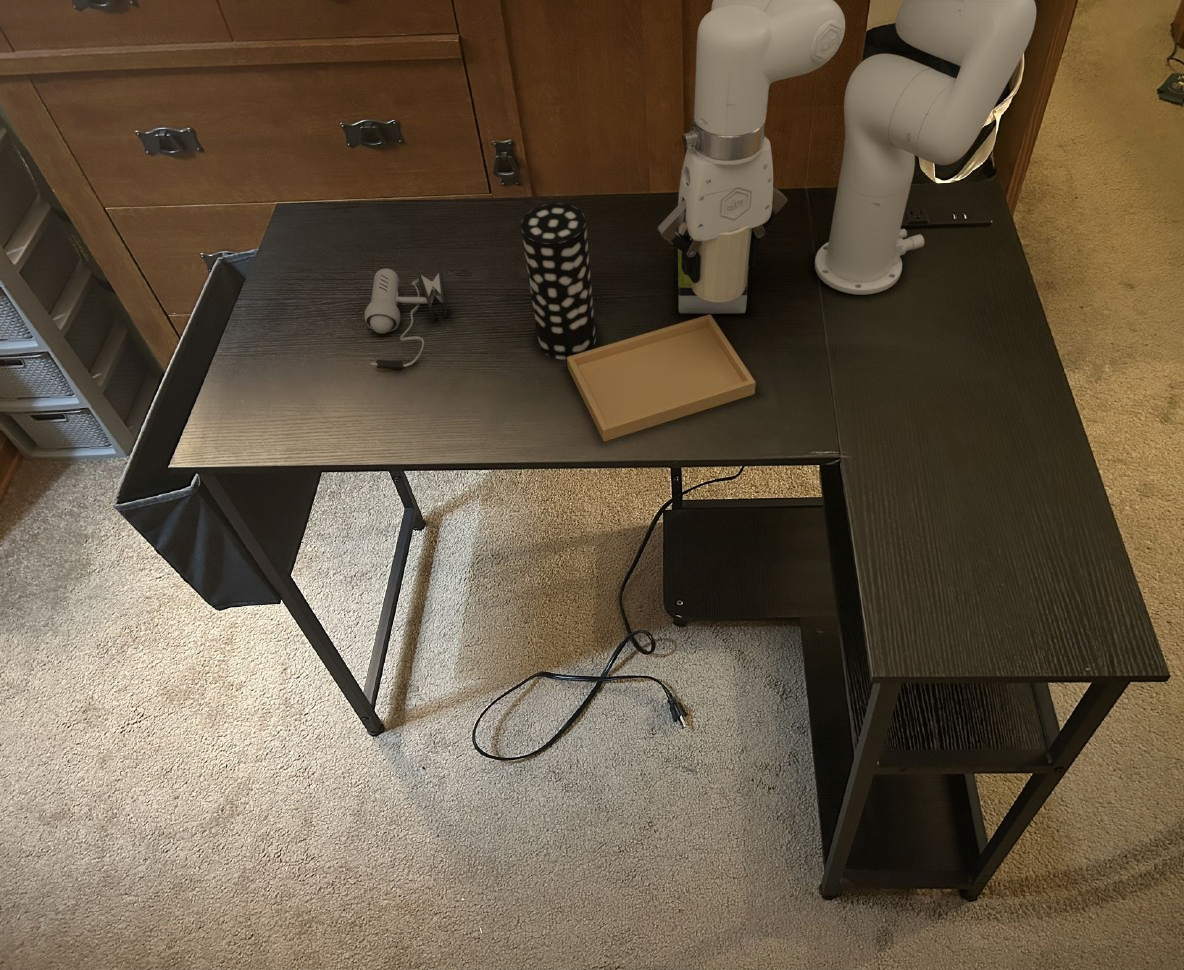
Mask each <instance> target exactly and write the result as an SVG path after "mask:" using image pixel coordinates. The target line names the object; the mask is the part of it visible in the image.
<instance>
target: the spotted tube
mask: <svg viewBox="0 0 1184 970" xmlns="http://www.w3.org/2000/svg"><path fill="white" fill-rule="evenodd" d="M587 228H588V227H587V219H586V216H585V214H584V212H583V211H582V210H581V209H579V208H578V207H576V206H574V205H572V204H567V203H559V202H556V203H555V202H553V203H546V204H543V205H539V206H537V207H534V208H532V209H531V210H530V211H528V212H527V213H526V214H525V215H524V217H523V218H522V219H521V222H520V231H521V237H522V243H523V250H524V251H523V252H524V257H525V264H526V270H527V278H528V283H529V291H530V296H531V304H532V310H533V316H534V323H535V329H536V336H537V341H538V342H537V343H538V346H539V349H540V350H541V351H542V352H543V354H545V355H546V356H548V357H550V358H552V359H558V360H567V357H569V356H572V355H576V354H579V353H582V352H586V351H589V350H592V349H593V348H594V346H595V343H596V340H597V335H596V334H597V332H596V321H595V310H594V299H593V298H594V297H593V288H592V273H591V264H590V263H591V262H590V251H589V240H588V238H589V237H588V229H587Z"/></svg>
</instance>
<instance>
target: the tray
mask: <svg viewBox="0 0 1184 970" xmlns="http://www.w3.org/2000/svg"><path fill="white" fill-rule="evenodd" d="M566 363H567V370H568V372H569V374H570V376H571V378H572V380H573V382H574V384H575V386H576V387H577V391H578V392H579V394H580V396H581V398H582V400H583V402H584V405H585V406H586V408H587V410H588V412H589V415H590V416H591V418H592V420H593V423H594V425H595V427H596V429H597V431H598V433H599V435H600V437H601V439H602V441H603V442H608V441H611V440H614V439H618V438H619V437H620V438H621V437H624V436H626V435H630V434H633V433H636V432H640V431H643V430H645V429H649V428H652V427H655V426H659V425H661V424H665V423H668V422H671V421H674V420H677V419H681V418H683V417H687V416H690V415H693V414H696V413H700V412H702V411H703V412H704V411H706V410H709V409H712V408H715V407H718V406H722V405H725V404H728V403H731V402H734V401H738V400H740V399H744V398H747V397H750V396H753V395H755V393H756V384H757V382H756V380H755V379H754V378H753V376H752V375H751V373H750V371H749V370H748V368H747V367H746V366H745V364H744V362H743V361H742V359H741V358H740V356H739V355H738V353H737V352H736V350H735V349H734V347H733V345H732V344H731V342H730V341H729V340H728V338H727V337H726V335H725V334H724V332H723V331H722V329H721V328H720V326H719V325H718V323H717V322H716V321H715V319H714V317H713V316H712V314H710V313H708V314H706V315H702V316H700V317H697V318H696V317H695V318H692V319H689V320H686V321H683V322H680V323H677V324H673V325H669V326H666V327H663V328H659V329H656V330H653V331H650V332H646V333H643V334H639V335H636V336H633V337H629V338H626V339H623V340H619V341H616V342H613V343H609V344H606V345H603V346H602V345H601V346H599V347H596V348H591V350H589V351H586V352H582V353H579V354H576V355H572V356H569V357H567V359H566Z"/></svg>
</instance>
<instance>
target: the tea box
mask: <svg viewBox="0 0 1184 970" xmlns="http://www.w3.org/2000/svg"><path fill="white" fill-rule="evenodd" d="M681 174H682V169H680V175H681ZM685 225H686V223H682V224H681V225H680V226H679V227H678V228H677V230H678V231H677V232H678V233H680V234H681V233H682V231H683V229H684V227H685ZM691 239H692V237H691ZM691 239H690V240H691ZM681 260H682V251H681V250H679V249H677V273H678V274H677V293H678V294H677V296H678V297H677V298H678V313H680V314H693V315H694V314H697V315H698V314H700V315H701V314H703V315H704V314H711V315H712V314H713V315H714V314H715V315H716V314H721V315H722V314H746V311H747V301H748V286H749V274H750V266H748V272H747V282H746V287H745V290H744V292H743V293H742V294H741V295H740V296H739V297H738V298H736V299H734V300H732V301H728V302H721V303H718V302H710V301H706V300H704V299H702V298H700V297H698V296H697V295H696V294H695V293H694V291H693V290H692V286H691V279H690V278H689V276H688V275H685V274H684V273H683V271H682V267H681Z"/></svg>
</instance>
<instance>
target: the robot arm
mask: <svg viewBox="0 0 1184 970" xmlns="http://www.w3.org/2000/svg"><path fill="white" fill-rule="evenodd" d="M1036 5H1037V4H1036V1H1035V0H902V1H901V3H900V5H899V7H898V10H897V13H896V17H895V30H896V33H897V35H898V36H899V38H900V39H901V40H902V41H904V42H905V43H906V44H908V45H910V46H911V47H913V48H915V49H918V50H920V51H922V52H924V53H926V54H929V55H932V56H934V57H937V58H939V59H942V60H944V61H947V62H949V63H950V64H954V65H956V66H959V71H958V74H957V76H956V77H953V76H950V75H949V74H946V73H943V72H940V71H938V70H936V69H935V68H932V67H930V66H927V65H925V64H923V63H920V62H918V61H915V60H912V59H910V58H907V57H905V56H901V55H898V54H893V53H878V54H873V55H871V56H869V57H866V58H865V59H864V60H863V61H861V62H860V63H859V64H858V65H857V66H856V67H855V69H854V70H853V71H852V73H851V75H850V77H849V78H848V80H847V81H848V82H847V84H846V88H845V92H844V97H843V119H844V144H843V145H844V146H843V154H842V160H841V167H840V173H839V179H838V183H837V184H838V185H837V189H836V196H835V203H834V208H833V214H832V221H831V226H830V233H829V239H828V241H827V242H826V243H824V244H823V245H822V246H821V247H820V248H819V249H818V250H817V252H816V254H815V257H814V271H815V272H816V275H817V276H818V277H819V280H821V281H822V282H823V283H824V284H826V285H827V286H829V287H830V288H832V289H834V290H837V291H839V292H842V293H845V294H851V295H861V296H863V295H864V296H865V295H873V294H877V293H880V292H883V291H885V290H889V288H891V287H893V286H894V285H895V284H896V283H897V282H898V280H899V279H900V277H901V274H902V270H903V261H902V258H901V256H904V255H905V254H906V253H907V252H909V251H914V250H917V249H920V248H923V247H924V245H925V238H924V236H923V235H922V234H916V235H913V236H909V237H907V236H908V232H907V230H906V229H905V228H901V227H902V223H903V219H904V216H905V212H906V208H907V207H906V206H907V202H908V199H909V195H910V190H911V186H912V182H913V178H914V174H915V165H916V158H915V156H916V157H918V158H920V159H922V160H924V161H927V162H928V163H932V164H934V165H939V166H949V165H952V164H954V163H956V162H958V161H959V160H961V159H962V157H964V155H966V154H967V153H968V151H969V150H970V148H972V146H973V145H974V143H975V141H976V139H977V138H978V137H979V136H980V135H979V134H980V133H981V130H983V128H984V126H985V125H986V122H987V121H988V119H989V117H990V115H991V113H992V111H993V109H994V108H995V107H996V105H997V103H998V100H999V99H1000V97H1001V95H1002V94H1003V92H1004V90H1005V89H1006V86H1007V84H1008V83H1009V81H1010V79H1011V77H1012V76H1013V74H1014V72H1015V70H1016V68H1017V67H1018V65H1019V63H1020V61H1021V59H1022V57H1023V55H1024V54H1025V52H1026V49H1027V47H1028V45H1029V44H1030V40H1031V38H1032V35H1033V32H1034V29H1035V25H1036V20H1037V6H1036ZM845 32H846V19H845V15H844V12H843V10H842V9H841V7H840V6H839V4H838V3H837V2H836V1H835V0H712V3H711V9H710V11H709V12H708V13H706V14H705V15H704V17H703V18H702V19H701V21H700V23H699V25H698V28H697V35H696V54H695V55H696V56H695V57H696V58H695V83H694V84H695V85H694V106H693V107H694V109H693V120H692V122H691V130H690V131H688V132H687V133H683V134H682V136H681V142H682V145H683V147H684V148H687V149H686V152H685V156H684V160H683V163H682V168H681V170H682V174H681V173H680V180H679V189H678V200H677V201H678V202H677V206H676V207H675V208H674V209H673V210H672V211H671V212H670V213H669V214H668V215H667V217H666V218H665V219H664V220H663V221H662V222H661V223H660V224H659V225H658V226H657V232H658V233H659V234H660V236H661V237H662V239H664V240H665V241H667V242H668V243H670V244H671V245H672V246H674V248H676V249H677V250H678V249H679V250H681V251H682V260H681V267H682V271H683V273H684V274H685V275H688V276H689V278H690V279H691V280H692V282H693V283H697V282H698V281H699V280H700V262H701V257H700V255H699V253H698V252H697V251H698V249H699V247H700V245H701V243H702V241H707V240H711V239H715V238H718V234H721V233H725V232H732V231H735V230H739V229H740V228H743V227H746V226H749V229H751V228H752V231H751V241H750V251H749V261H748V266H749V268H752V267H755V266H756V262H757V255H758V254H759V250H760V241H761V238H762V237H764V236H765V234H766V229H767V228H768V227H769V226H770V224H771V223H772V222H773V221H774V220H775V218H776V216H777V215H776V214H779V212H780V211H781V209H782V208H783V207H784V206H785V205H786V204H787V202H788V198H787V197H786V195H784V193H783V192H781V191H780V190H779V189H777V188H775V187H774V165H773V164H774V163H773V154H772V153H773V152H772V147H771V142H770V139H768V137H766V136H765V131H766V130H765V129H766V120H767V114H768V113H767V111H768V103H769V102H768V101H769V93H770V87H771V85H772V83H775V82H778V81H782V80H787V79H791V78H796V77H799V76H802V75H806V74H809V73H812V72H814V71H816V70H818V69H819V68H821V67H823V66H824V65H825V64H826V63H827V62H829V61H830V60H831V59H832V58H833V57H834V55H836V53H837V52H838V50H839V48H840V46H841V44H842V42H843V39H844V36H845ZM682 223H686V225H685V227H684V229H683V231H682V233H681V234H680V233H678V231H677V230H678V227H679V226H680V225H681V224H682ZM691 237H692V239H691ZM690 239H691V240H690Z"/></svg>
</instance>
